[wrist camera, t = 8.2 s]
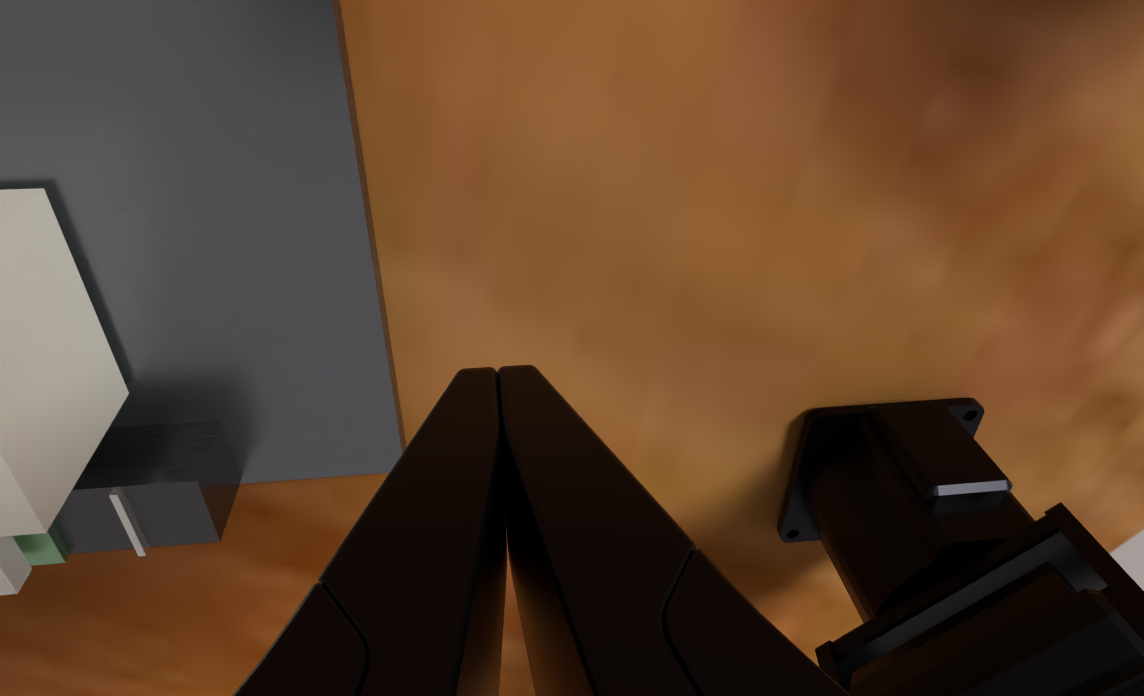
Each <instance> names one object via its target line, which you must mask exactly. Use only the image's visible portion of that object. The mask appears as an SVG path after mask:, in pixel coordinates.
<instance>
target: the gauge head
mask: <svg viewBox="0 0 1144 696" xmlns="http://www.w3.org/2000/svg"><path fill="white" fill-rule="evenodd" d="M128 395H129V392H128V390H127V387H126V385H125V382H124V380H123V378H122V375H121V373H120V370H119V368H118V366H117V363H116V361H115V358H114V356H113V354H112V351H111V349H110V346H109V344H108V342H107V339H106V337H105V334H104V332H103V329H102V327H101V325H100V322H99V320H98V317H97V315H96V313H95V310H94V308H93V305H92V303H91V301H90V298H89V296H88V293H87V291H86V289H85V286H84V284H83V281H82V279H81V277H80V274H79V272H78V269H77V267H76V264H75V262H74V260H73V257H72V255H71V252H70V250H69V248H68V245H67V243H66V240H65V238H64V236H63V233H62V231H61V228H60V226H59V224H58V221H57V219H56V216H55V214H54V212H53V209H52V207H51V204H50V202H49V199H48V197H47V195H46V192H45V190H44V188H38V189H6V190H0V595H11V594H18V593H19V591H20V589H21V587H22V586H23V584H24V582H25V581H26V579H27V577H28V576H29V574H30V572H31V570H32V568H31V566H30V564H29V563H28V561H27V559H26V558H25V556H24V555H23V553H22V551H21V550H20V548H19V547H18V545H17V543H16V542H15V540H14V538H13V537H12V536H16V535H28V534H40V533H46V532H47V531H48V529H49V527H50V526H51V524H52V522H53V521H54V519H55V517H56V516H57V514H58V512H59V511H60V509H61V507H62V506H63V504H64V502H65V501H66V499H67V497H68V495H69V494H70V492H71V490H72V489H73V487H74V485H75V484H76V482H77V480H78V479H79V477H80V475H81V474H82V472H83V470H84V469H85V467H86V465H87V463H88V462H89V460H90V458H91V457H92V455H93V453H94V452H95V450H96V448H97V447H98V445H99V443H100V442H101V440H102V438H103V437H104V435H105V433H106V432H107V430H108V428H109V426H110V425H111V423H112V421H113V420H114V418H115V416H116V415H117V413H118V411H119V410H120V408H121V406H122V405H123V403H124V401H125V400H126V398H127V396H128Z"/></svg>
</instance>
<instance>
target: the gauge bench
mask: <svg viewBox="0 0 1144 696" xmlns="http://www.w3.org/2000/svg"><path fill="white" fill-rule="evenodd" d="M38 188H44V190H45V192H46V195H47V197H48V199H49V202H50V204H51V207H52V209H53V212H54V214H55V216H56V219H57V221H58V224H59V226H60V228H61V231H62V233H63V236H64V238H65V240H66V243H67V245H68V248H69V250H70V252H71V255H72V257H73V260H74V262H75V264H76V267H77V269H78V272H79V274H80V277H81V279H82V281H83V284H84V286H85V289H86V291H87V293H88V296H89V298H90V301H91V303H92V305H93V308H94V310H95V313H96V315H97V317H98V320H99V322H100V325H101V327H102V329H103V332H104V334H105V337H106V339H107V342H108V344H109V346H110V349H111V351H112V354H113V356H114V358H115V361H116V363H117V366H118V368H119V370H120V373H121V375H122V378H123V380H124V382H125V385H126V387H127V390H128V392H129V395H128V396H127V398H126V400H125V401H124V403H123V405H122V406H121V408H120V410H119V411H118V413H117V415H116V416H115V418H114V420H113V421H112V423H111V425H110V426H109V428H108V430H107V432H106V433H105V435H104V437H103V438H102V440H101V442H100V443H99V445H98V447H97V448H96V450H95V452H94V453H93V455H92V457H91V458H90V460H89V462H88V463H87V465H86V467H85V469H84V470H83V472H82V474H81V475H80V477H79V479H78V480H77V482H76V484H75V485H74V487H73V489H72V490H71V492H70V494H69V495H68V497H67V499H66V501H65V502H64V504H63V506H62V507H61V509H60V511H59V512H58V514H57V516H56V517H55V519H54V521H53V522H52V524H51V526H50V527H49V529H48V531H47V532H46V533H40V534H28V535H16V536H12V537H13V538H14V540H15V542H16V543H17V545H18V547H19V548H20V550H21V551H22V553H23V555H24V556H25V558H26V559H27V561H28V563H29V564H30V566H32V565H44V564H56V563H65V562H66V561H67V559H68V557H69V555H70V554H76V553H88V552H100V551H112V550H124V549H135V550H136V553H137V555H138V556H146V555H147V552H148V550H149V548H150V547H160V546H172V545H184V544H196V543H207V542H219V541H221V538H222V535H223V532H224V529H225V526H226V523H227V520H228V517H229V514H230V511H231V508H232V505H233V502H234V499H235V496H236V493H237V491H238V488H239V485H240V484H244V483H257V482H270V481H283V480H297V479H310V478H323V477H336V476H350V475H363V474H376V473H389V472H391V470H392V469H393V467H394V466H395V464H396V463H397V461H398V460H399V458H400V457H401V455H402V454H403V452H404V451H405V449H406V443H405V436H404V429H403V423H402V416H401V409H400V403H399V396H398V389H397V382H396V376H395V369H394V362H393V356H392V349H391V342H390V336H389V329H388V322H387V316H386V309H385V302H384V296H383V289H382V282H381V275H380V269H379V262H378V255H377V249H376V242H375V235H374V229H373V222H372V215H371V209H370V202H369V195H368V189H367V182H366V175H365V168H364V162H363V155H362V148H361V142H360V135H359V128H358V122H357V115H356V108H355V102H354V95H353V88H352V82H351V75H350V68H349V62H348V55H347V48H346V41H345V35H344V28H343V21H342V15H341V8H340V1H339V0H0V190H6V189H38Z"/></svg>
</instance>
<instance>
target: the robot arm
mask: <svg viewBox="0 0 1144 696" xmlns="http://www.w3.org/2000/svg"><path fill="white" fill-rule="evenodd" d="M497 379H498V380H497ZM983 415H984V409H983V407H982V406H981V405H980V403H979V402H978V401H977V400H975V399H974V398H956V399H942V400H928V401H913V402H899V403H885V404H871V405H856V406H842V407H828V408H819V409H815V410H813V411H812V412H810V413H809V414H808V415H807V416H806V418H805V421H804V425H803V429H802V432H801V436H800V440H799V444H798V448H797V452H796V456H795V459H794V463H793V467H792V471H791V475H790V479H789V483H788V486H787V490H786V494H785V498H784V502H783V506H782V510H781V513H780V517H779V521H778V525H777V531H778V534H779V536H780V538H781V539H782V541H784V542H790V543H791V542H802V541H813V540H821V541H822V543H823V545H824V547H825V549H826V551H827V553H828V555H829V557H830V559H831V561H832V563H833V565H834V566H835V568H836V570H837V572H838V574H839V576H840V578H841V580H842V582H843V584H844V586H845V588H846V590H847V592H848V594H849V595H850V597H851V599H852V601H853V603H854V605H855V607H856V609H857V611H858V613H859V615H860V617H861V619H862V621H863V623H864V624H862V625H860V626H859V627H857V628H855V629H853V630H852V631H850V632H848V633H847V634H845V635H843V636H842V637H840V638H838V639H837V640H835V641H833V642H831V641H827V642H826V643H824V644H822V645H821V646H819V647H817V648H816V649H815V652H816V656H817V660H818V664H819V667H820V668H819V667H818V666H817V665H816V664H815V663H814V662H813V661H812V660H810V659H809V658H808V657H807V656H806V655H805V654H804V653H803V652H802V651H801V650H800V649H798V648H797V647H796V646H795V645H794V644H793V643H792V642H791V641H790V640H789V639H788V638H787V637H786V636H784V635H783V634H782V633H781V632H780V631H779V630H778V629H777V628H776V627H775V626H774V625H773V624H772V623H771V622H769V621H768V620H767V619H766V618H765V617H764V616H763V615H762V614H761V613H760V612H759V611H758V610H757V609H756V608H755V607H754V606H753V605H752V604H751V603H750V602H749V601H748V600H747V599H746V598H745V596H744V595H743V594H742V593H741V592H740V591H739V590H738V589H737V588H736V587H735V586H734V585H733V584H732V583H731V582H730V581H729V580H728V579H727V578H726V577H725V576H724V575H723V574H722V572H721V571H720V570H719V569H718V568H717V567H716V566H715V565H714V564H713V562H712V561H711V560H710V559H709V558H708V557H707V556H706V555H705V553H704V552H703V551H702V550H701V549H695V548H696V545H695V543H694V542H693V541H692V540H691V538H690V537H689V536H688V535H687V534H686V533H685V532H684V531H683V530H682V528H681V527H680V526H679V525H678V524H677V523H676V522H675V521H674V520H673V519H672V517H671V516H670V515H669V514H668V513H667V512H666V511H665V510H664V509H663V507H662V506H661V505H660V504H659V503H658V502H657V501H656V500H655V499H654V498H653V496H652V495H651V494H650V493H649V492H648V491H647V490H646V489H645V488H644V486H643V485H642V484H641V483H640V482H639V481H638V480H637V479H636V478H635V477H634V475H633V474H632V473H631V472H630V471H629V470H628V469H627V468H626V467H625V465H624V464H623V463H622V462H621V461H620V460H619V459H618V458H617V457H616V456H615V454H614V453H613V452H612V451H611V450H610V449H609V448H608V447H607V446H606V444H605V443H604V442H603V441H602V440H601V439H600V438H599V437H598V436H597V435H596V433H595V432H594V431H593V430H592V429H591V428H590V427H589V426H588V425H587V423H586V422H585V421H584V420H583V419H582V418H581V417H580V416H579V415H578V414H577V412H576V411H575V410H574V409H573V408H572V407H571V406H570V405H569V404H568V402H567V401H566V400H565V399H564V398H563V397H562V396H561V395H560V394H559V393H558V391H557V390H556V389H555V388H554V387H553V386H552V385H551V384H550V383H549V381H548V380H547V379H546V378H545V377H544V376H543V375H542V374H541V373H540V372H539V370H538V369H537V368H536V367H534V366H532V365H517V366H503V367H501V368H499V370H498V372H496V370H495V369H494V368H492V367H484V368H467V369H461V370H460V371H458V373H457V374H456V375H455V377H454V378H453V380H452V381H451V383H450V384H449V386H448V387H447V389H446V390H445V392H444V393H443V395H442V396H441V398H440V399H439V401H438V402H437V404H436V405H435V406H434V408H433V409H432V411H431V412H430V414H429V415H428V417H427V418H426V420H425V421H424V423H423V424H422V426H421V427H420V429H419V430H418V432H417V433H416V435H415V436H414V438H413V439H412V441H411V442H410V443H409V445H408V446H407V448H406V449H405V451H404V452H403V454H402V455H401V457H400V458H399V460H398V461H397V463H396V464H395V466H394V467H393V469H392V470H391V472H390V473H389V475H388V476H387V478H386V479H385V480H384V482H383V483H382V485H381V486H380V488H379V489H378V491H377V492H376V494H375V495H374V497H373V498H372V500H371V501H370V503H369V504H368V506H367V507H366V509H365V510H364V512H363V513H362V515H361V516H360V518H359V519H358V520H357V522H356V523H355V525H354V526H353V528H352V529H351V531H350V532H349V534H348V535H347V537H346V538H345V540H344V541H343V543H342V544H341V546H340V547H339V549H338V550H337V552H336V553H335V555H334V556H333V557H332V559H331V560H330V562H329V563H328V565H327V566H326V568H325V569H324V571H323V572H322V574H321V575H320V577H319V579H318V581H319V583H317V584H314V585H313V586H312V588H311V589H310V591H309V592H308V594H307V595H306V597H305V598H304V600H303V601H302V603H301V604H300V606H299V607H298V609H297V610H296V612H295V613H294V615H293V616H292V618H291V619H290V620H289V622H288V623H287V625H286V626H285V627H284V629H283V630H282V632H281V633H280V634H279V636H278V637H277V638H276V640H275V641H274V643H273V644H272V645H271V647H270V648H269V650H268V651H267V652H266V654H265V655H264V656H263V658H262V659H261V661H260V662H259V663H258V665H257V666H256V667H255V669H254V670H253V671H252V672H251V674H250V675H249V676H248V677H247V678H246V680H245V681H244V682H243V683H242V685H241V686H240V687H239V688H238V690H237V691H236V692H235V693H234V695H233V696H499V683H500V668H501V653H502V638H503V623H504V608H505V593H506V577H507V543H508V553H509V561H510V567H511V573H512V579H513V584H514V589H515V594H516V599H517V604H518V609H519V614H520V619H521V624H522V629H523V634H524V639H525V644H526V649H527V654H528V659H529V664H530V669H531V674H532V679H533V684H534V689H535V694H536V696H1144V591H1143V590H1142V589H1141V588H1140V587H1139V586H1138V585H1137V584H1136V582H1135V581H1134V580H1133V579H1132V578H1131V577H1130V576H1129V575H1128V574H1127V573H1126V572H1125V571H1124V570H1123V569H1122V567H1121V566H1120V565H1119V564H1118V563H1117V562H1116V561H1115V560H1114V559H1113V558H1112V557H1111V556H1110V554H1109V553H1108V552H1107V551H1106V550H1105V549H1104V548H1103V547H1102V546H1101V545H1100V544H1099V543H1098V542H1097V540H1096V539H1095V538H1094V537H1093V536H1092V535H1091V534H1090V533H1089V532H1088V531H1087V530H1086V529H1085V528H1084V526H1083V525H1082V524H1081V523H1080V522H1079V521H1078V520H1077V519H1076V518H1075V517H1074V516H1073V515H1072V514H1071V512H1070V511H1069V510H1068V509H1067V508H1066V507H1065V506H1064V505H1063V504H1062V503H1061V502H1060V503H1058V504H1057V505H1055V506H1053V507H1052V508H1050V509H1048V510H1047V511H1045V512H1044V513H1045V514H1046V515H1045V516H1043V517H1042V518H1040V519H1038V520H1037V521H1035V520H1034V519H1033V518H1032V517H1031V516H1030V514H1029V513H1028V512H1027V511H1026V510H1025V508H1024V507H1023V506H1022V505H1021V504H1020V503H1019V501H1018V500H1017V499H1016V498H1015V497H1014V495H1013V494H1012V493H1011V492H1010V490H1011V488H1012V486H1013V485H1012V483H1011V481H1010V480H1009V479H1008V478H1007V477H1006V476H1005V474H1004V473H1003V472H1002V471H1001V470H1000V469H999V467H998V466H997V465H996V464H995V463H994V462H993V460H992V459H991V458H990V457H989V456H988V455H987V453H986V452H985V451H984V450H983V449H982V448H981V447H980V445H979V444H978V443H977V442H976V441H975V440H974V438H973V437H974V435H975V433H976V431H977V428H978V426H979V424H980V421H981V419H982V417H983ZM822 421H823V422H822ZM820 422H822V423H821V424H818V423H820ZM505 515H506V516H505ZM506 530H507V537H506Z"/></svg>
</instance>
